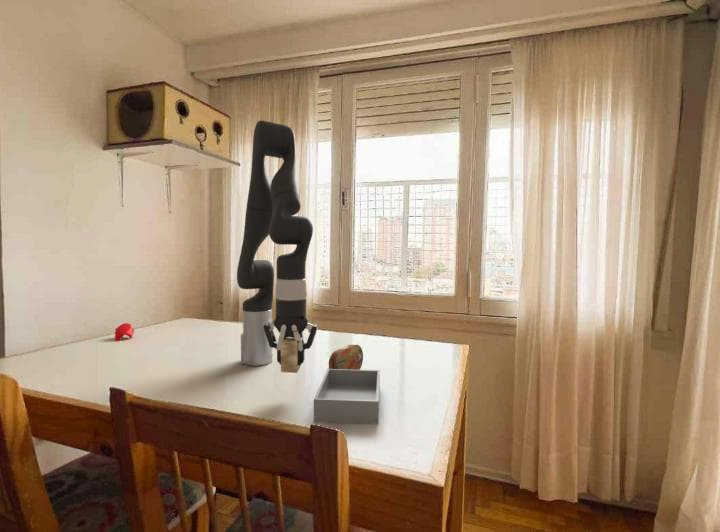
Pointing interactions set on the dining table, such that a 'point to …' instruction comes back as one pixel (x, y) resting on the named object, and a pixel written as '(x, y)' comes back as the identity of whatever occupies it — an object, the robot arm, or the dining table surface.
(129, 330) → the cap
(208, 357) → the dining table surface
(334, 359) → the tin
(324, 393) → the bin
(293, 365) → the wooden block
